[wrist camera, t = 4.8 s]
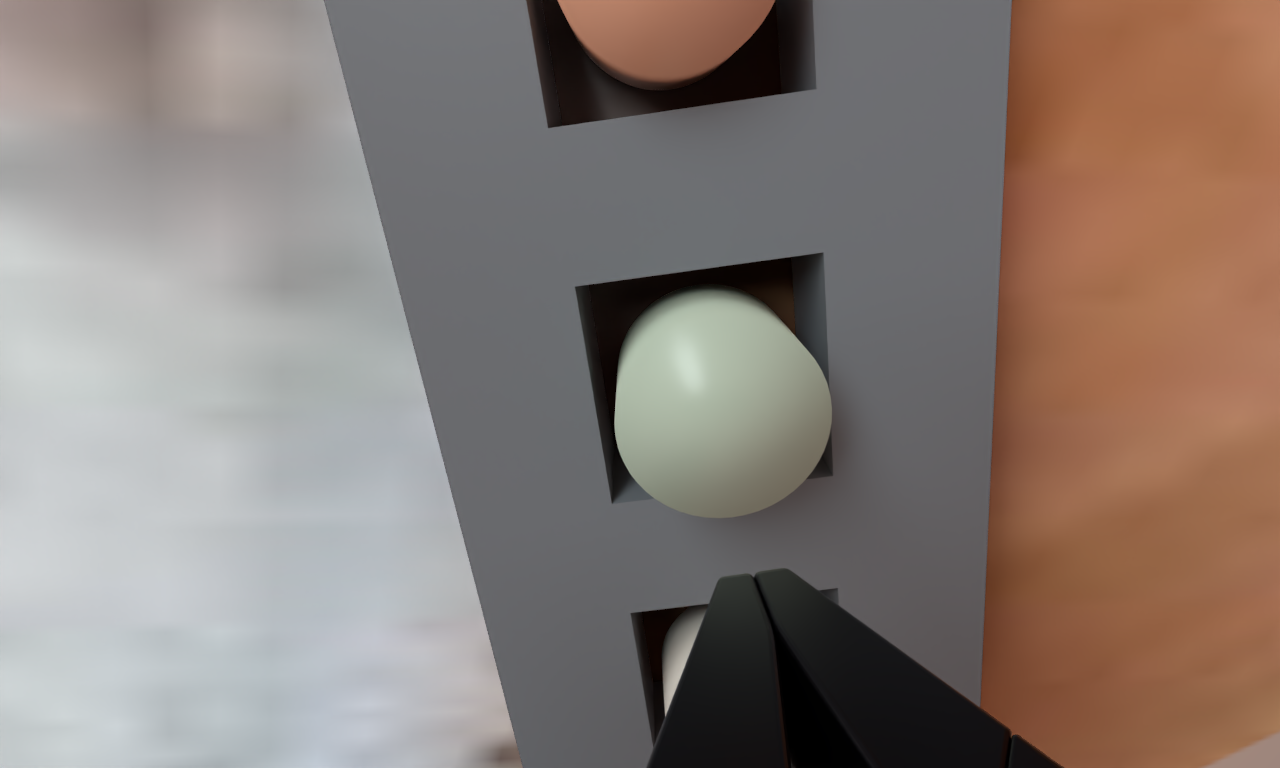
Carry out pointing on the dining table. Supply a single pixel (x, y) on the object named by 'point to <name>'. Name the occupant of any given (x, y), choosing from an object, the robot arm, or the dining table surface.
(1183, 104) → the dining table surface
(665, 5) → the orange rounded piece
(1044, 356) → the dining table surface
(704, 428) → the sage button
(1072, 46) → the dining table surface
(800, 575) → the button panel
